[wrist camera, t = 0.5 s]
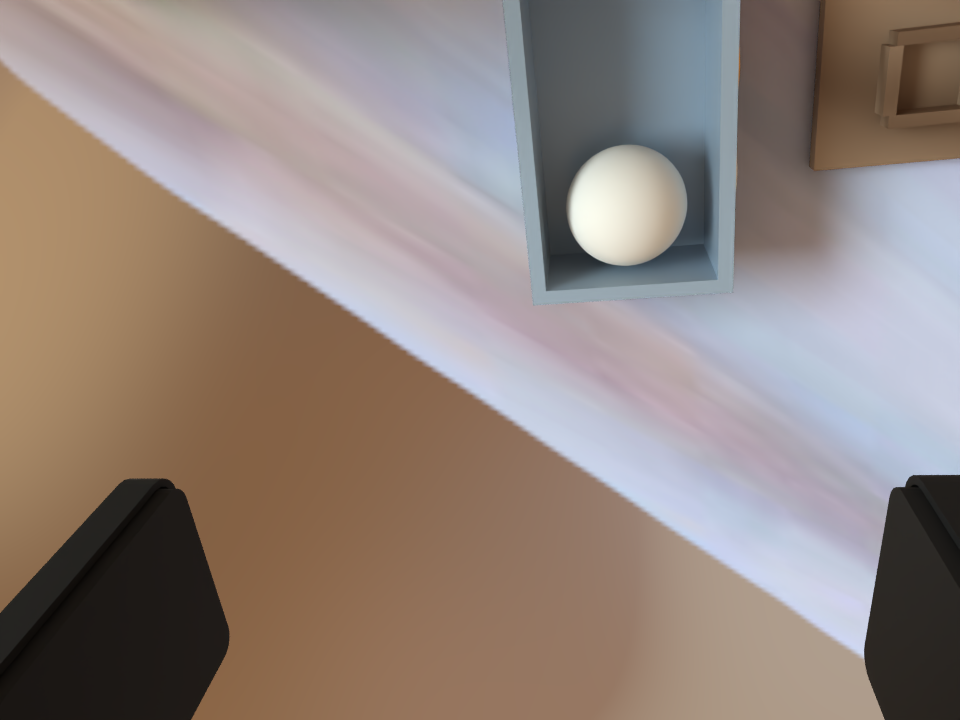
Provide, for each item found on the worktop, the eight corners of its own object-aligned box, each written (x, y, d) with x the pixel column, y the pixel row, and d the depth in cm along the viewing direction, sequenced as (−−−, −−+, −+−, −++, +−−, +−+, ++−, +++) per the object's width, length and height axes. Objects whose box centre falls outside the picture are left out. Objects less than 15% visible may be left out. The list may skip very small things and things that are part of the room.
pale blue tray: (511, -41, 31) (498, -41, 27) (725, -72, 30) (748, -77, 26) (540, 264, 37) (533, 305, 33) (719, 251, 36) (737, 292, 31)
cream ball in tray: (563, 139, 34) (559, 166, 29) (680, 127, 33) (694, 153, 29) (571, 247, 36) (569, 287, 32) (681, 239, 35) (694, 279, 31)
